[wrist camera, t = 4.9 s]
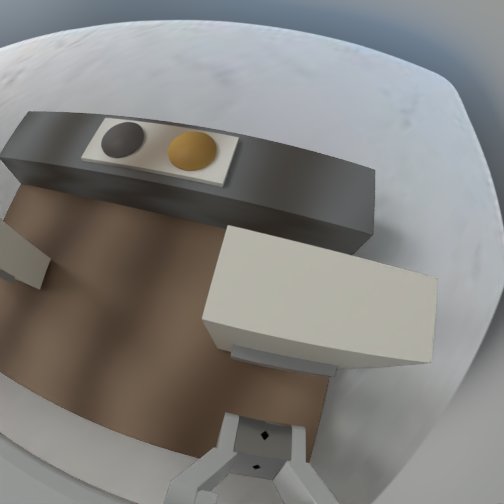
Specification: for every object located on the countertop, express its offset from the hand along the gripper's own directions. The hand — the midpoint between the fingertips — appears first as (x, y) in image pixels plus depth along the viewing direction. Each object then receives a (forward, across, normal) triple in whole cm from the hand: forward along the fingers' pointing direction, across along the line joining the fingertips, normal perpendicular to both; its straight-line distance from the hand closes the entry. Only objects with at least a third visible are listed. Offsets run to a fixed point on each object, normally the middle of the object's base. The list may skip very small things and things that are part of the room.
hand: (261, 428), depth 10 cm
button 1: (+5, 0, 0) cm, 5 cm away
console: (+8, +8, 0) cm, 11 cm away
